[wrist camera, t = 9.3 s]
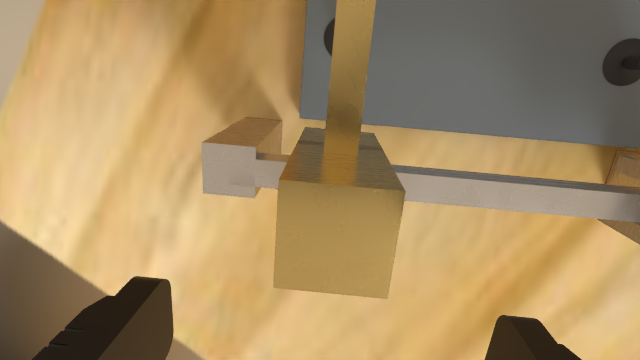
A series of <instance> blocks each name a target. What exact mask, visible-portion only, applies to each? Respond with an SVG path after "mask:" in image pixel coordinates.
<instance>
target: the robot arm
mask: <svg viewBox="0 0 640 360" xmlns="http://www.w3.org/2000/svg"><path fill="white" fill-rule="evenodd" d="M172 339H173V314H172V298H171V285H170V282H169V281H168V280H167V279H159V278H149V277H139V276H136V277H133V278H132V279H131V280H130V281H129V282H128V283H127V284H126V285H125V286H124V287H123V288H122V289H121V290H120V291H119V292H118V293H117V294H116V295H115V296H106V297H104V298H102V299H101V300H99V301H97V302H95V303H94V304H92V305H90V306H88V307H87V308H85V309H83V311H81V313H79V314H78V315H77V316H76V317H75V318H74V319H73V320H72V321H71V322H70V323H69V324H68V325H67V326H66V327H65V330H64V331H61V332H60V333H59V334H58V335H57V336H56V337H55V338H54V339H52V340H51V341H50V342H49V346H48V347H44V348H43V349H42V350H41V351H40V352H39V353H38V354H37V355H36V356H35V357H34V358H33V359H32V360H165V359H166V357H167V355H168V353H169V350H170V347H171V343H172ZM485 360H581V359H580V358H579V357H578V356H576V355H575V354H574V353H573V352H571V351H570V350H569V349H568V348H566V347H565V346H564V345H563V344H557V342H556V341H555V340H554V338H553V337H552V336H551V335H550V333H549V332H548V331H547V329H546V328H545V327H544V326H543V324H542V323H541V322H540V321H539V320H537V319H535V318H526V317H516V316H506V315H502V316H500V317H499V318H498V319H497V322H496V324H495V328H494V331H493V334H492V338H491V341H490V344H489V347H488V351H487V354H486V357H485Z"/></svg>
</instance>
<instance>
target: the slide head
mask: <svg viewBox="0 0 640 360" xmlns="http://www.w3.org/2000/svg"><path fill="white" fill-rule="evenodd" d="M375 5H376V0H337V5H336V17H335V28H334V39H333V51H332V62H331V73H330V85H329V96H328V107H327V119H326V129H320V128H309V127H305V129H304V131H303V133H302V135H301V137H300V138H299V140H298V142H297V144H296V146H295V148H294V150H293V152H292V154H291V156H290V158H289V160H288V162H287V164H286V166H285V168H284V170H283V172H282V174H281V176H280V178H279V181H278V202H277V222H276V243H275V264H274V284H273V288H281V289H291V290H301V291H312V292H322V293H332V294H342V295H352V296H363V297H373V298H383V299H388V293H389V287H390V281H391V275H392V269H393V263H394V257H395V251H396V245H397V240H398V234H399V228H400V222H401V216H402V210H403V204H404V198H405V192H406V191H405V189H404V187H403V186H402V184H401V182H400V180H399V178H398V177H397V175H396V173H395V171H394V169H393V167H392V166H391V164H390V162H389V160H388V158H387V157H386V155H385V153H384V151H383V149H382V147H381V146H380V144H379V142H378V140H377V138H376V137H375V135H374V133H364V132H360V130H361V122H362V113H363V105H364V97H365V88H366V80H367V72H368V63H369V55H370V47H371V38H372V30H373V22H374V13H375Z"/></svg>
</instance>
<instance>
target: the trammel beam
mask: <svg viewBox="0 0 640 360" xmlns="http://www.w3.org/2000/svg"><path fill="white" fill-rule="evenodd" d="M623 66H624V68H625V69H626V70H640V55H630V56H628V57H627V58H626V59H625V60H624V63H623ZM281 136H282V121H281V120H270V119H259V118H248V117H245V118H244V119H242V120H240V121H238V122H237V123H235V124H233V125H231V126H230V127H228V128H226V129H224V130H223V131H221V132H219V133H217V134H215V135H214V136H212V137H210V138H208V139H207V140H205V141H203V142H202V171H203V193H206V194H216V195H227V196H238V197H248V198H255V197H256V195H257V194H258V192H259V190H260V189H261V187H264V188H275V189H278V181H279V178H280V176H281V174H282V172H283V170H284V168H285V166H286V164H287V162H288V160H289V158H290V156H291V155H281ZM391 166H392V167H393V169H394V171H395V173H396V175H397V177H398V178H399V180H400V182H401V184H402V186H403V187H404V189H405V191H406V192H405V198H404V201H414V202H424V203H435V204H446V205H456V206H467V207H478V208H489V209H499V210H510V211H521V212H531V213H542V214H553V215H563V216H574V217H585V218H596V219H597V220H599V221H601V222H602V223H604V224H606V225H607V226H609V227H611V228H613V229H614V230H616V231H618V232H619V233H621V234H623V235H624V236H626V237H628V238H630V239H631V240H633V241H635V242H636V243H638V244H640V153H636V152H625V151H617V153H616V156H615V159H614V162H613V164H612V167H611V170H610V173H609V176H608V178H607V181H606V184H597V183H586V182H575V181H564V180H553V179H542V178H531V177H520V176H510V175H499V174H488V173H477V172H466V171H455V170H444V169H433V168H422V167H412V166H401V165H391Z"/></svg>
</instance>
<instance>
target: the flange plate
mask: <svg viewBox="0 0 640 360" xmlns="http://www.w3.org/2000/svg"><path fill="white" fill-rule="evenodd" d="M336 5H337V0H307V10H306V25H305V41H304V56H303V72H302V87H301V103H300V118H303V119H314V120H325V121H326V119H327V107H328V96H329V85H330V73H331V62H332V51H333V39H334V28H335V17H336ZM630 55H640V0H376V5H375V13H374V22H373V30H372V38H371V47H370V55H369V63H368V72H367V80H366V88H365V97H364V105H363V113H362V122H361V124H369V125H380V126H392V127H403V128H414V129H425V130H436V131H447V132H458V133H469V134H480V135H492V136H503V137H514V138H525V139H536V140H547V141H558V142H569V143H580V144H592V145H603V146H614V147H625V148H636V149H638V148H639V145H640V70H626V69H625V68H624V66H623V63H624V60H625V59H626V58H627V57H628V56H630Z"/></svg>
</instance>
